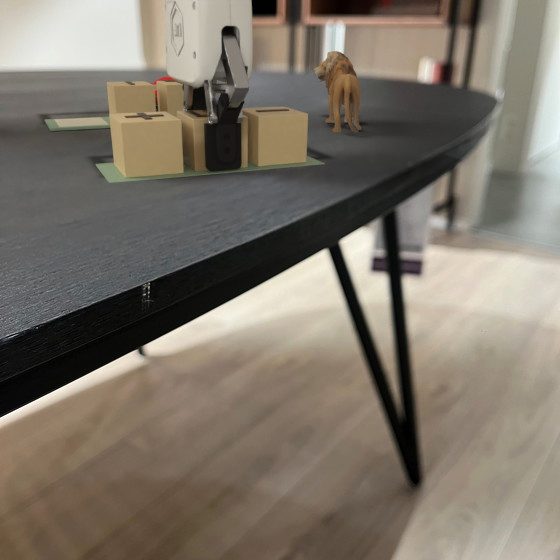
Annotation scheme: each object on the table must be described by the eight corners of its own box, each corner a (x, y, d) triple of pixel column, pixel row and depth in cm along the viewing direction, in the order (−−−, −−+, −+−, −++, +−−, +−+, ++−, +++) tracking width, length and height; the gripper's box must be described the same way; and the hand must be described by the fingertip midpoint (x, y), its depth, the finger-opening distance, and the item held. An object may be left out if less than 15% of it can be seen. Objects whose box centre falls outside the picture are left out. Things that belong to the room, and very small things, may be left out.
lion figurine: (309, 118, 81) (312, 49, 77) (346, 118, 82) (350, 50, 78) (336, 137, 68) (341, 56, 64) (379, 137, 69) (386, 57, 65)
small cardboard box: (195, 172, 50) (193, 117, 48) (178, 160, 54) (176, 109, 52) (248, 167, 52) (248, 115, 50) (228, 156, 56) (227, 107, 54)
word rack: (50, 131, 67) (44, 87, 65) (44, 121, 73) (39, 81, 71) (225, 122, 76) (224, 83, 74) (208, 114, 82) (207, 78, 80)
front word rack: (109, 186, 46) (103, 124, 44) (95, 167, 52) (89, 111, 50) (325, 166, 54) (328, 113, 52) (292, 152, 60) (293, 103, 58)
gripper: (135, -59, 51) (150, 147, 58) (193, -86, 37) (203, 189, 44) (215, -53, 54) (219, 142, 61) (297, -76, 40) (289, 180, 47)
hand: (212, 160), depth 53 cm, fingers closed on small cardboard box, 5 cm apart
